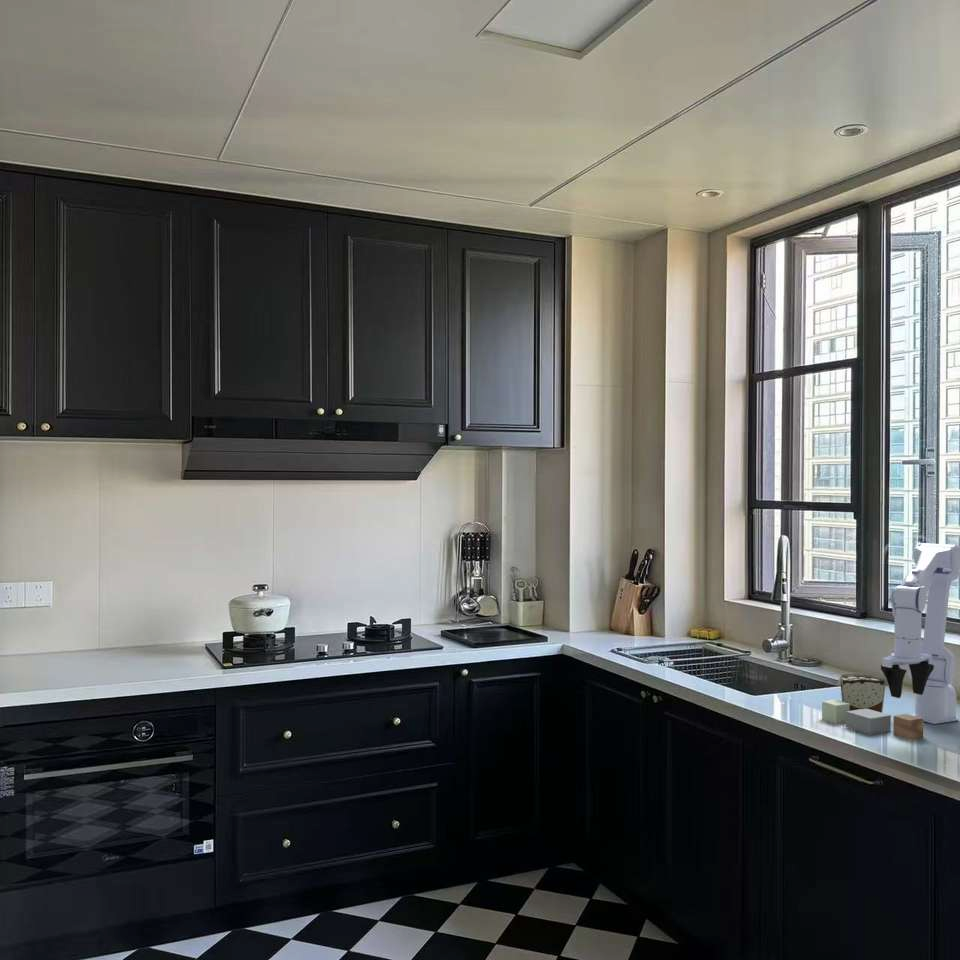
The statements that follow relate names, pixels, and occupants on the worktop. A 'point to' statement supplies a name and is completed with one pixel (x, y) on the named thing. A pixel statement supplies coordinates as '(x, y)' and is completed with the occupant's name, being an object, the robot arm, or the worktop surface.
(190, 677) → the worktop surface
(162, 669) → the worktop surface
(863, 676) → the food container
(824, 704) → the sage cube
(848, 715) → the slate block
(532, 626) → the worktop surface
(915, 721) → the walnut cube
